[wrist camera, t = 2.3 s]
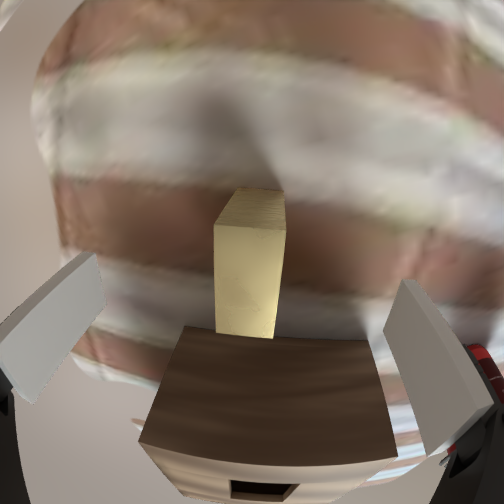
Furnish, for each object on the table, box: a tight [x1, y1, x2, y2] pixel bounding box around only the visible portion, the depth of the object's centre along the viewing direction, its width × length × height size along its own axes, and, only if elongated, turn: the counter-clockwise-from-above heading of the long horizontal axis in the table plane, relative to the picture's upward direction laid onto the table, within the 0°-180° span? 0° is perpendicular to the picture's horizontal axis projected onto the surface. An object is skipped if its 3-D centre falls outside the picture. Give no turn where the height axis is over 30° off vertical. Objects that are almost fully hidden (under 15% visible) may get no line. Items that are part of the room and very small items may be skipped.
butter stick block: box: [214, 187, 286, 339], centre depth 13 cm, size 5×2×6 cm, turn 177°
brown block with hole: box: [138, 326, 398, 504], centre depth 18 cm, size 16×14×10 cm
